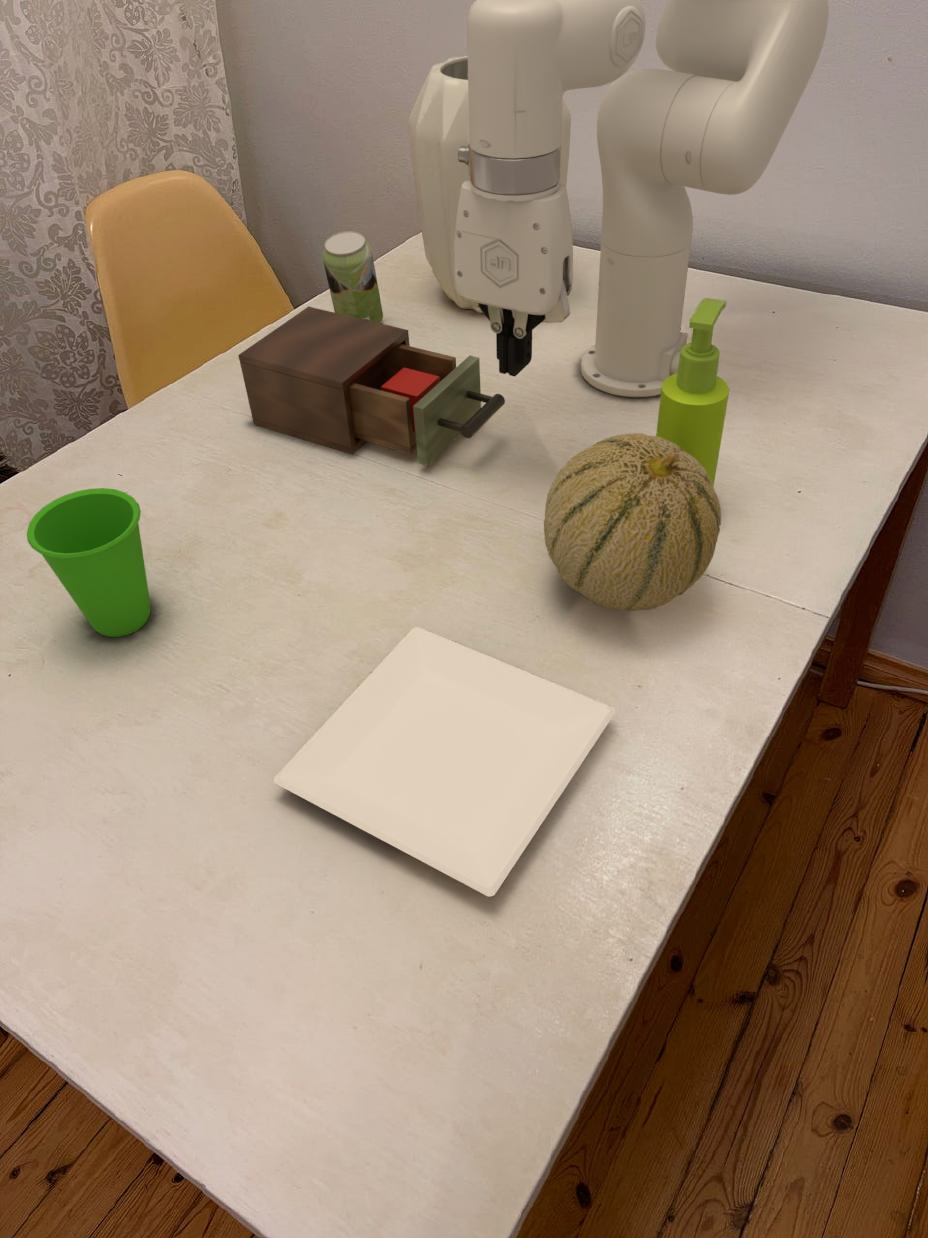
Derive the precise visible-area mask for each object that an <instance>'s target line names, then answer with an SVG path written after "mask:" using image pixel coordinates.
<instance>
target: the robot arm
mask: <svg viewBox="0 0 928 1238" xmlns="http://www.w3.org/2000/svg"><path fill="white" fill-rule="evenodd" d="M829 11H830V9H829V0H667V1H666V4H665V5H664V7H663V11H662V14H661V16H660V19H659V22H658V25H657V30H656V34H655V35H656V37H655V48H656V53H657V56H658V57H659V60H660V61H661V62H662V63H663V65H664V66H666V67H667V68H668V69H669V70H666V69H661V68H643V69H635V70H631V71H629V69H630V68H631V67H632V66H633V64H634V63H635V62H636V60H637V59H638V57H639V54H640V53H641V50H642V47H643V44H644V40H645V35H646V14H645V9H644V6H643V4H642V2H641V0H475V1H474V2H473V3H472V4H471V6H470V8H469V10H468V13H467V14H468V15H467V19H466V49H467V50H466V51H467V52H466V53H467V55H466V56H468V97H469V130H470V144H469V145H468V147H467V146H461V147H460V148H459V150H458V161H459V162H461V163H466V165H468V166H469V177H471V179H469V180H467V181H465V182H464V183H463V184H462V187H461V192H460V198H459V204H458V211H457V218H456V228H455V244H454V283H455V289H456V291H457V293H458V294H459V295H460V296H461V298H462V300H463V301H465V302H467V303H469V304H471V305H473V306H475V307H477V308H478V307H479V308H480V309H481V311H482V312H483V313H482V314H483V315H484V316H485V318H486V319H487V320H488V321H489V325H490V329H491V331H492V332H493V333H495V335H496V336H495V337H496V338H495V339H496V340H495V341H496V343H495V345H496V347H495V349H496V359H497V360H498V371H499V372H498V373H499V374H503V375H506V374H508V375H509V376H510V377H516V376H518V375H519V374H520V372H522V371H523V370H524V369H525V368H526V367H527V366H528V365H530V363H531V362H532V357H533V331H534V329H536V328H537V327H538V326H540V324H542V323H546V324H553V323H554V324H555V323H556V324H557V323H563V322H564V321H565V320H566V319H567V318H568V317H569V316H570V315H571V310H570V303H569V298H568V296H569V295H570V294H571V291H572V287H573V278H574V277H573V276H574V244H573V241H574V239H573V225H572V217H571V209H570V208H571V207H570V202H569V197H568V191H567V185H566V186H565V185H563V184H560V161H561V126H562V99H564V94H565V93H566V92H568V91H573V90H580V89H589V88H590V89H591V88H596V87H597V88H599V87H602V86H606V85H608V84H610V83H611V84H610V85H609V87H608V88H607V89H606V90H605V92H604V94H603V97H602V99H601V100H600V104H599V108H598V113H597V119H596V142H597V150H598V157H599V163H600V172H601V184H602V216H601V217H602V218H601V222H602V223H601V237H600V254H599V270H598V271H599V272H598V289H597V291H598V292H597V309H596V327H595V343H594V345H592V346H591V347H590V348H588V349H587V350H586V351H585V353H584V354H583V355H582V356H581V360H580V361H581V362H580V372H581V375H582V376H583V379H584V380H585V381H586V382H587V383H588V384H589V385H591V386H592V387H594V388H595V389H597V390H599V391H602V392H604V393H608V394H610V395H614V396H620V397H627V398H628V397H629V398H648V397H655V396H661V387H662V383H663V381H664V380H665V379H666V378H667V377H669V376H671V375H673V374H676V373H678V365H679V357H680V350H681V348H682V347H683V346H684V345H686V344H688V337H689V334H688V332H682V331H681V329H682V323H683V321H682V320H683V314H684V304H685V298H686V297H685V295H686V287H687V279H688V271H689V264H690V263H689V262H690V254H691V245H692V240H693V231H694V215H693V210H692V205H691V201H690V197H689V195H688V192H687V189H686V188H690V189H695V190H700V191H704V192H709V193H714V194H719V195H728V196H733V195H735V196H736V195H740V194H743V193H745V192H747V191H748V190H750V189H751V188H752V187H754V185H756V183H758V181H759V180H760V178H761V177H762V175H763V174H764V173H765V170H766V169H767V167H768V165H769V163H770V161H771V159H772V158H773V155H774V153H775V151H776V149H777V148H778V145H779V144H780V141H781V139H782V137H783V135H784V133H785V131H786V128H787V127H788V124H789V123H790V120H791V119H792V117H793V115H794V113H795V111H796V108H797V106H798V104H799V102H800V100H801V98H802V96H803V94H804V92H805V89H806V88H807V86H808V83H809V81H810V80H811V77H812V75H813V72H814V70H815V68H816V65H817V63H818V61H819V58H820V55H821V53H822V49H823V47H824V43H825V39H826V35H827V30H828V22H829ZM628 71H629V72H628Z"/></svg>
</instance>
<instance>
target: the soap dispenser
mask: <svg viewBox="0 0 928 1238" xmlns="http://www.w3.org/2000/svg"><path fill="white" fill-rule="evenodd" d="M726 307H727V300H723V299H715V298H708V297H704V298H703V299H702V300H701V301H700V302H699V304H698V305H697V306H696V308H695V310H694V312H693V314H692V316H691V318H690V320H689V323H688V328H689V329H692V334H691V340H690V342H689V343H688V342H687V344H686V345H684V346H683V347H682V348H681V350H680V357H679V365H678V373H676V374H673V375H671V376H669V377H667V378H666V379H665V380H664V381H663V383H662V387H661V395H659V396H660V397H659V406H658V407H659V408H658V414H657V415H658V417H657V423H656V424H657V426H656V433H655V434H656V435H655V437H660V438H663V439H666V440H668V441H670V442H673V443H674V444H676V445H677V446H679V447H680V448H681V449H683V450H684V451H685V452H687V453H688V454H689V455H691V456H692V457H694V458H695V459H696V460H698V462H699V463H700V464H701V465H702V467H703V468H704V469H705V470H706V472H707V474H708V475H709V477H710V479H711V482H712V484H713V487H714V486H715V479H716V474H717V469H718V464H719V463H718V462H719V456H720V451H721V443H722V438H723V432H724V425H725V420H726V413H727V407H728V400H729V395H730V387H729V385H728V383H727V381H725V379H723V378H721V377H720V376H718V370H719V365H720V357H721V350H720V349H719V348H718V347H717V346H716V345H714V344H712V343H713V335H714V330H715V329H714V328H715V324H716V322H717V321H718V320H719V317H720V315H721V314H722V312H723V311H724V309H725V308H726ZM714 488H715V487H714Z"/></svg>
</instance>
